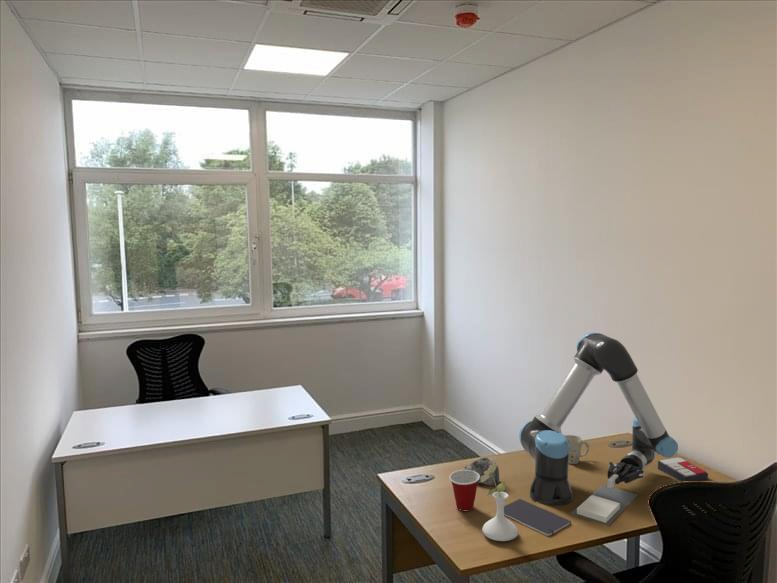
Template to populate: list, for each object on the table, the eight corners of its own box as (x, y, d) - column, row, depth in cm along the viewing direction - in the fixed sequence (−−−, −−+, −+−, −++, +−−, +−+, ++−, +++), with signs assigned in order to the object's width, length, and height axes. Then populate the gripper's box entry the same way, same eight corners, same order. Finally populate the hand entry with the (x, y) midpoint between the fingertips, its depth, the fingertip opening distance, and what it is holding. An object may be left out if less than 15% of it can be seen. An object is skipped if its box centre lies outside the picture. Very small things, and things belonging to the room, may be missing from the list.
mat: (570, 515, 202) (570, 513, 202) (602, 486, 224) (602, 484, 224) (607, 527, 194) (608, 525, 193) (637, 496, 215) (637, 494, 215)
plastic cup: (443, 503, 211) (443, 471, 210) (470, 498, 215) (470, 467, 214) (457, 517, 201) (457, 484, 200) (485, 511, 205) (485, 479, 204)
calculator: (686, 475, 225) (657, 459, 239) (685, 486, 225) (656, 468, 240) (708, 471, 228) (679, 455, 242) (707, 482, 229) (678, 465, 243)
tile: (591, 500, 211) (576, 514, 201) (591, 494, 211) (576, 508, 201) (619, 509, 204) (605, 523, 195) (620, 503, 204) (606, 517, 194)
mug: (557, 458, 250) (557, 436, 249) (582, 455, 254) (582, 432, 253) (568, 466, 242) (569, 443, 241) (594, 462, 246) (595, 439, 245)
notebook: (570, 525, 196) (519, 502, 213) (571, 520, 196) (519, 498, 212) (548, 538, 188) (496, 513, 205) (548, 533, 188) (496, 509, 204)
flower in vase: (502, 523, 197) (503, 451, 194) (525, 539, 187) (526, 463, 184) (471, 533, 191) (471, 459, 188) (493, 550, 181) (493, 472, 178)
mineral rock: (460, 479, 232) (460, 454, 231) (480, 472, 238) (480, 448, 237) (483, 490, 221) (483, 465, 220) (503, 483, 228) (503, 458, 226)
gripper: (650, 477, 222) (627, 499, 204) (615, 468, 230) (591, 488, 213) (651, 458, 221) (628, 479, 203) (616, 450, 229) (591, 469, 212)
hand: (609, 484), depth 208 cm, fingers closed
